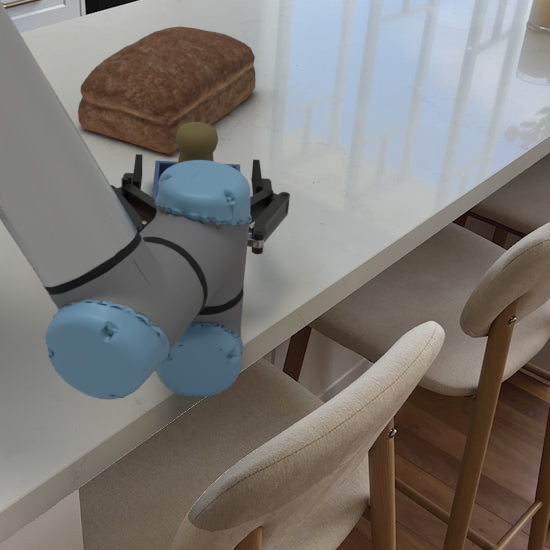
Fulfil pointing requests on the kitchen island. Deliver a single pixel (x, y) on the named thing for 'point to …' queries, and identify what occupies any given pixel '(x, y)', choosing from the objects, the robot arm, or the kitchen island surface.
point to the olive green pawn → (196, 141)
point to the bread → (166, 86)
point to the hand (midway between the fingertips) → (197, 167)
